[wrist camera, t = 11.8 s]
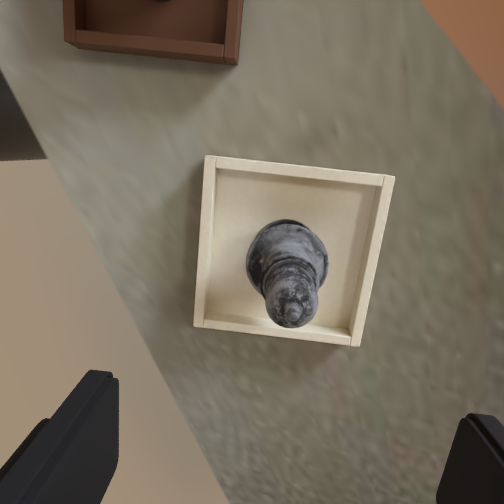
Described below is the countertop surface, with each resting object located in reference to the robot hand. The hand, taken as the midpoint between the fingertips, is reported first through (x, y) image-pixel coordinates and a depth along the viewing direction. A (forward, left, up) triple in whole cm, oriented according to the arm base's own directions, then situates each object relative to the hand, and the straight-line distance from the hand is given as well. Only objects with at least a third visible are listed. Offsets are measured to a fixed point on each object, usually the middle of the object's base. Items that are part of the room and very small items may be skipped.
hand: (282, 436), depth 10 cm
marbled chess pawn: (+1, 0, -20) cm, 20 cm away
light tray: (+1, 0, -20) cm, 20 cm away
